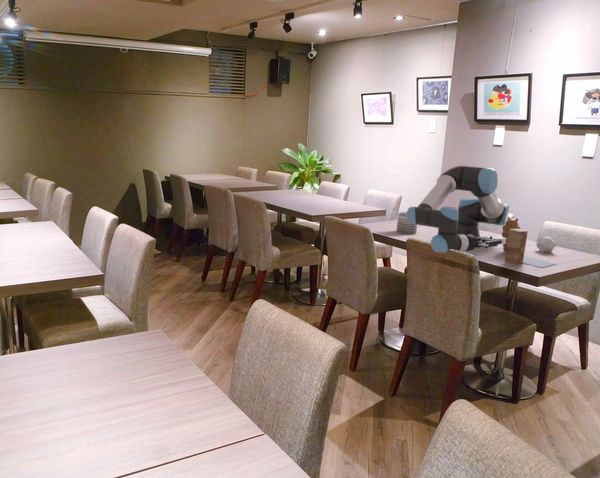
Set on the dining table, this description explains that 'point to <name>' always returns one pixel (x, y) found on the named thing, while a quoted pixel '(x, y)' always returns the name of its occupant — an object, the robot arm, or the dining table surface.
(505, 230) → the cat ice cream
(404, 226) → the can
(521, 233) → the block
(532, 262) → the mat
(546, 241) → the grey knobbly ball
